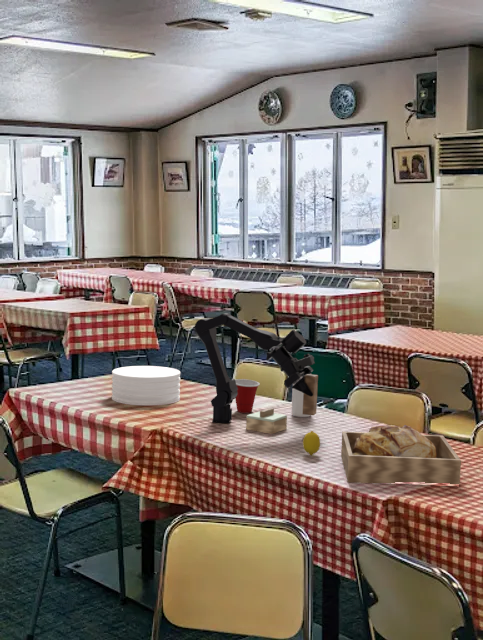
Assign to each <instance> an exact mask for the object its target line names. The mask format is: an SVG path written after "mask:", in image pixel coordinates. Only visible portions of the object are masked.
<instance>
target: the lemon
mask: <svg viewBox="0 0 483 640" xmlns="http://www.w3.org/2000/svg"><path fill="white" fill-rule="evenodd" d="M320 446H321V439H320V436H319V435H318V434H317V433H316V432H315V431H314V430H313V431H312V430H311V431H309V432H307V433H306V434H305V435H304V437H303V441H302V447H303V449H304V451H305V452H306V453H307V454H309V456H313V455H314V454H316V453H317V452H318V451H319V449H320V448H321V447H320Z"/></svg>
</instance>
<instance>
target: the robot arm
mask: <svg viewBox="0 0 483 640" xmlns="http://www.w3.org/2000/svg"><path fill="white" fill-rule="evenodd" d="M221 326H225V327H227V328H229V329H231V330H233V331H235V332H236V333H238V334H240V335H243V336H245V337H247V338H249V339H250V340H251V341H253V342H254V344H255V345H256V346H258V347H259V348H260V349H261V350H264V351H267V352H266V361H269V360H271V359H273V360H274V362H275V363H276V364H277V365H278V367H280V371H281V372H284V373H285V374H286V376H287V377H286V379H285V380H284V381H283V384H284V385H283V386H285V388H286V389H290V388H291V389H293V388H294V389H296V390H298V391H300V392H303V393H305V394H307V395H309V396H313V393H312V391H311V390H310V388H309V387H308V385H307V384H306V382H305V375H307V374H312V372H313V371H314V369H313V367H311V366H313V365H314V364H316V363H315V357H314V356H313V355H312V354H310V353H307V354H304V355H303V358H301V359H298V358H297V357H293V356H292V355H291V354H297V352H298V351H300V349H301V348H303V346H305V345H306V344H307V340H306V338H305V337H304V336H303V335H302V334H300V333H299V332H298V331H296V330H295V329H292V330H290V332H289V333H288V334H287V335H286V336H285V337H282V336H281V337H280V336H278V335H276V333H273V332H272V331H268V330H264V329H259V328H256V327H254V326H252V325H250V324H248V323H247V322H245V321H242V320H240V319H239V318H238V317H235V316H233V315H231V313H228V312H225V313H221V314H219V315H217V316H215V317H212V318H210V317H205V318H201V319H199V320H197V321H196V322H195V324H194V331H195V332H196V335H197V336H198V338H199V339H200V340H201V341H202V343H203V345H204V347H205V350H206V354H207V355H208V359H209V363H210V366H211V368H212V371H213V374H214V377H215V391H216V395H215V396H214V397H213V398H212V399H211V400H210V404H211V407H212V420H211V421H212V422H211V423H219V424H220V423H221V424H230V423H231V421H232V419H233V408H232V407H231V404H232V403H233V402H234V400H236V399H235V398H236V396H237V394H238V392H237V390H238V388H237V386H236V381H235V380H236V379H235V378H234V379H231V377H229V375H228V371H227V369H226V367H225V363H224V360H223V357H222V353H221V351H220V350H221V349H220V347H219V344H218V342H217V328H219V327H221ZM280 345H281V346H280ZM278 346H280V347H278ZM269 350H271V351H269ZM293 384H294V385H293Z"/></svg>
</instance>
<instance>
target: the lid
mask: <svg viewBox="0 0 483 640" xmlns="http://www.w3.org/2000/svg"><path fill="white" fill-rule="evenodd" d="M246 418H252V419H258V420H263V421H269V422H275V421H278V420H280V419H283V418H288V415H287V414H282V413H275V408H272V407H269V408H265V409H262V410H259V411H256V412H253V413H250V414H247V415H246Z"/></svg>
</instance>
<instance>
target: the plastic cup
mask: <svg viewBox="0 0 483 640" xmlns="http://www.w3.org/2000/svg"><path fill="white" fill-rule="evenodd" d="M235 381H236V386H237V388H238V390H237V392H238V394H237V396H236V398H235V399H234V400H235V404H236V405H235V406H236V410H237V412H238V413H242V414H247V413H248V414H249V413H250V414H251V413H252V411H253V408H254V403H255V399H256V393H257V390H258V387H259V386H260V382H258V381H256V380H252V379H246V378H241V379H240V378H238V379H235Z"/></svg>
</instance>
